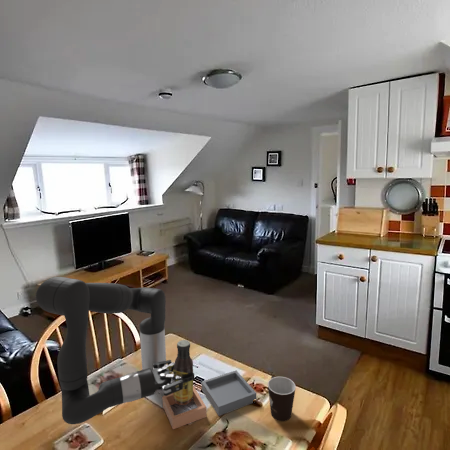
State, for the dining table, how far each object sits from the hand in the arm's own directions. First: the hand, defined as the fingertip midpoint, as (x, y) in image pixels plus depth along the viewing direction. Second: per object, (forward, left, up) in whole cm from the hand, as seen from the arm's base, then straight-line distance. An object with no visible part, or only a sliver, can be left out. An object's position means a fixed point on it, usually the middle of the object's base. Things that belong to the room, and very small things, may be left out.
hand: (190, 369), depth 103 cm
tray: (0, +14, -14) cm, 19 cm away
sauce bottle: (0, -2, -10) cm, 10 cm away
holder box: (0, -2, -14) cm, 14 cm away
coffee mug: (+14, +26, -14) cm, 32 cm away
